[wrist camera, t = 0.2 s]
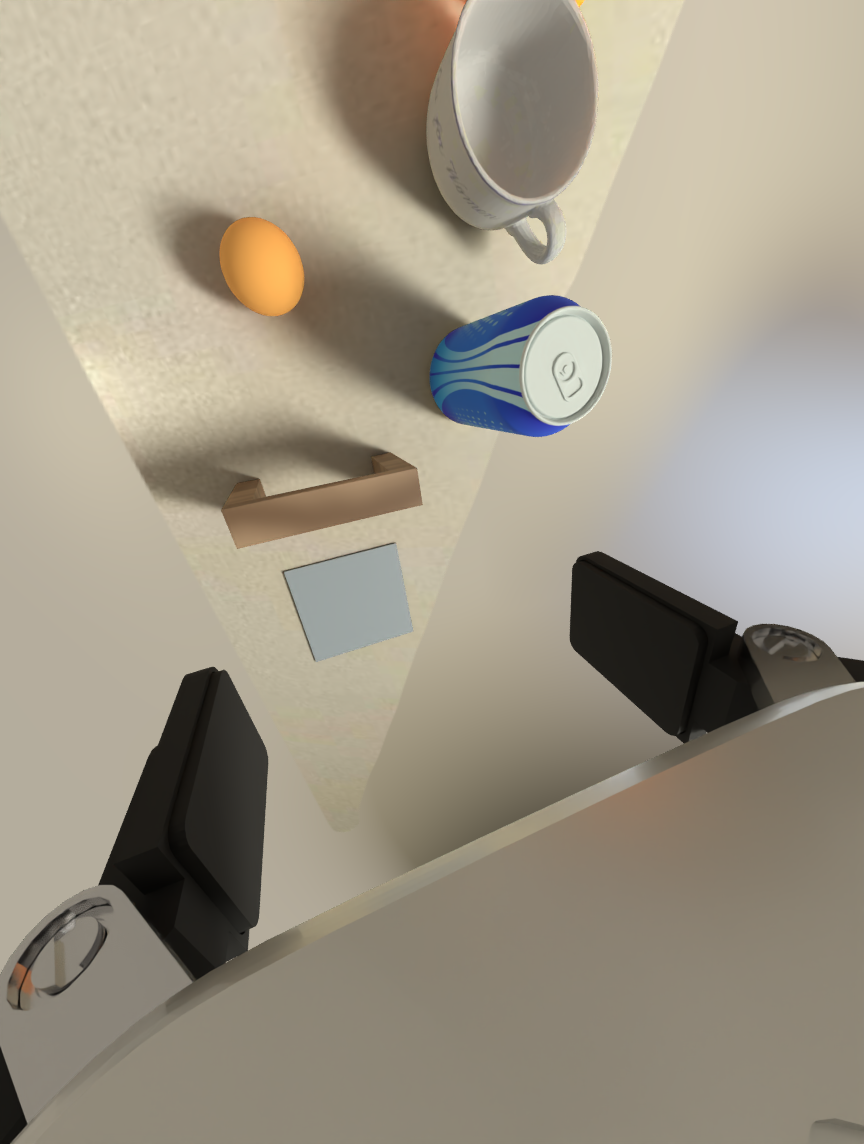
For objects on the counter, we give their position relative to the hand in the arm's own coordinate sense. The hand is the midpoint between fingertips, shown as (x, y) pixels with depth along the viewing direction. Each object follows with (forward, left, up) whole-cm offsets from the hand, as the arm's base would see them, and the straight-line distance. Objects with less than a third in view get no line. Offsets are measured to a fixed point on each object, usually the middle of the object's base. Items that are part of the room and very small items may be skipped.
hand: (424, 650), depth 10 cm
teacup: (-19, +18, -31) cm, 41 cm away
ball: (-14, -1, -28) cm, 32 cm away
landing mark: (+16, -1, -31) cm, 34 cm away
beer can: (-5, +15, -31) cm, 35 cm away
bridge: (+2, -1, -31) cm, 31 cm away
